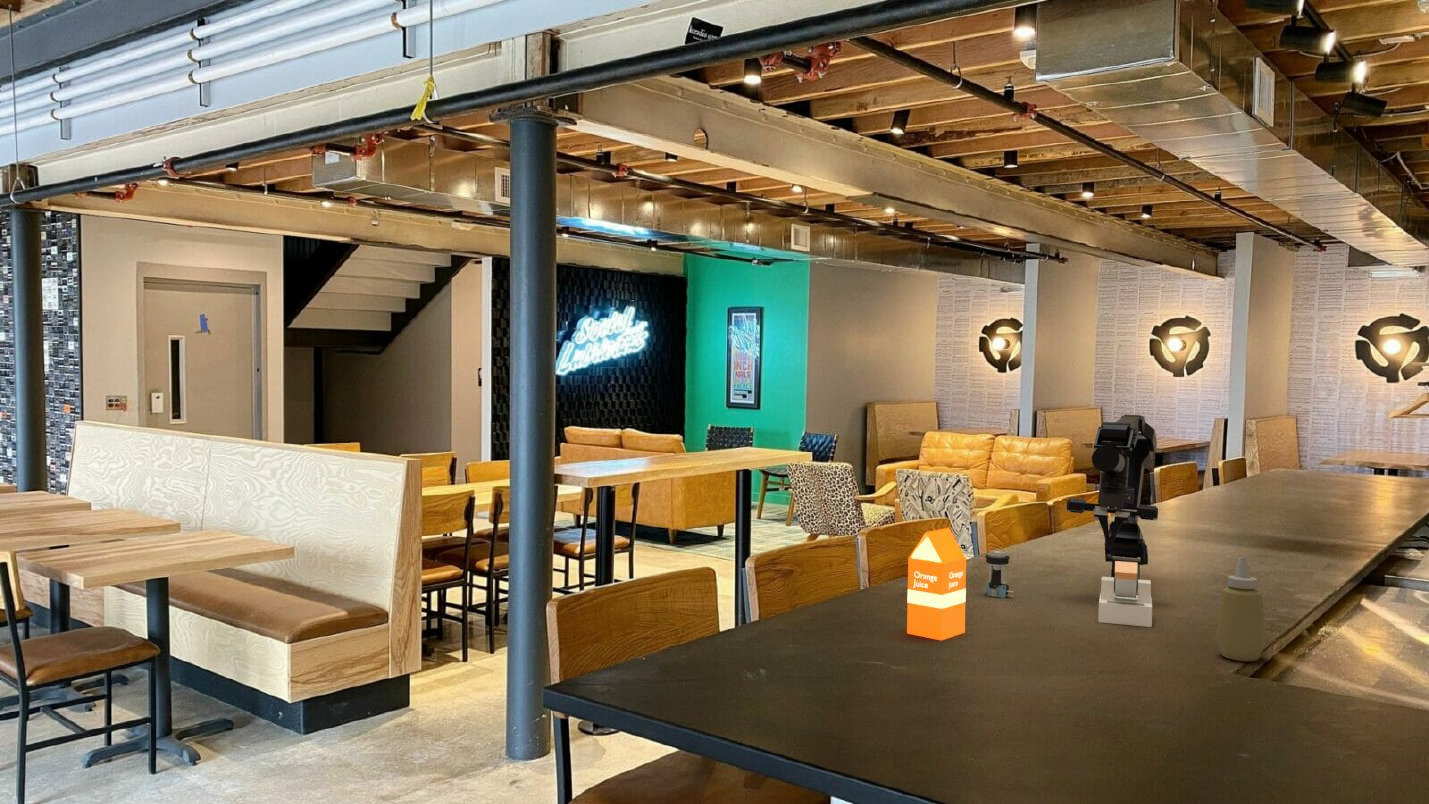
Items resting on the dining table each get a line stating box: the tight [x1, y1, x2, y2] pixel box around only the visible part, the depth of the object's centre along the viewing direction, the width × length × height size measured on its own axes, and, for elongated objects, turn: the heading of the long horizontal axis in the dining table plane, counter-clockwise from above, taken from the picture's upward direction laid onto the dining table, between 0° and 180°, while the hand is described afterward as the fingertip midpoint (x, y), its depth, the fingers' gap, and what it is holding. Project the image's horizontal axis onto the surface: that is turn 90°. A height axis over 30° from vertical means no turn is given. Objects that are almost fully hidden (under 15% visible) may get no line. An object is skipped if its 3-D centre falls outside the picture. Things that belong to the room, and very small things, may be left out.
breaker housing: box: [1098, 576, 1153, 628], centre depth 217 cm, size 11×10×8 cm
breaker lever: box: [1114, 561, 1138, 598], centre depth 215 cm, size 3×4×9 cm
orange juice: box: [906, 527, 967, 641], centre depth 203 cm, size 8×9×20 cm
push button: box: [984, 550, 1015, 599], centre depth 238 cm, size 7×5×10 cm
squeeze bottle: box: [1215, 556, 1267, 662], centre depth 187 cm, size 8×8×18 cm
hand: (1109, 548), depth 232 cm, fingers closed
